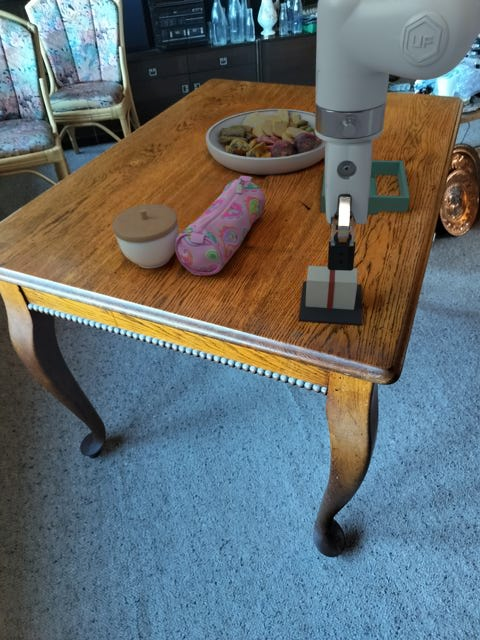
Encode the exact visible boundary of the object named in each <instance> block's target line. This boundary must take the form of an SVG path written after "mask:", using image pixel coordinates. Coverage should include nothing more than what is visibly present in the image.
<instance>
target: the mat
mask: <svg viewBox="0 0 480 640" xmlns="http://www.w3.org/2000/svg"><path fill="white" fill-rule="evenodd" d="M306 288H307V280H303V281H302V288H301V295H300V296H301V297H300V304H299V312H298V313H299V314H298V322H306V323H319V324H320V323H321V324H334V325H347V326H359V327H360V326H363V296H362V295H363V294H362V292H363V290H362V289H363V288H362V284H360V283H357V290H356V297H355V305H354V310H350V309H335V308H332V309H327V308H320V307H306Z"/></svg>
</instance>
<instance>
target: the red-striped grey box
mask: <svg viewBox="0 0 480 640" xmlns="http://www.w3.org/2000/svg"><path fill="white" fill-rule="evenodd" d="M306 281H307V288H306V307H320V308H327V309H332V308H335V309H350V310H354V305H355V297H356V290H357V284H358V268H357V267H353V270H351V271H341V270H329V269H328V266H322V265H321V266H320V265H308V267H307V276H306Z"/></svg>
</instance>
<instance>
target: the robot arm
mask: <svg viewBox="0 0 480 640" xmlns="http://www.w3.org/2000/svg"><path fill="white" fill-rule="evenodd" d="M316 9H317V10H316V45H315V46H316V47H315V48H316V51H315V52H316V53H315V54H316V55H315V56H316V57H315V102H314V103H315V108H314V109H315V111H314V114H315V134H316V136H317V137H318V138H320V139H322V140H324V141H325V157H324V167H325V203H326V213H325V218H326V219H325V221H326V222H327V224H329V228H330V231H331V232H330V240H329V241H328V248H327V249H328V250H327V267H328V269H329V270H341V271H351V270H353V268H355V267H354V266H355V256H356V255H355V254H356V242H357V241H355V231H356V225H362V226H364V225H365V224H366V223H367V222H368V214H367V213H368V200H369V189H370V178H371V167H372V160H373V149H374V148H373V145H374V140H375V139H377V138H379V137H380V136H382V134H383V132H384V126H385V125H384V124H385V117H386V107H387V97H388V88H389V81H390V80H389V79H390V75H391V76H396V77H398V78H399V77H400V78H404V79H408V80H409V79H410V80H414V81H429V80H434V79H438V78H440V77H443V76H445V75H447V74H448V73H450V72H452V71H453V70H454V69H455V68H457V67H458V66H459V64H460V63H461V62H463V61H464V59H465V58H466V56H467V55H468V53H469V52H470V50H471V48H472V47H473V45H474V43H475V42H476V40H477V38H478V37H479V35H480V0H317V7H316Z"/></svg>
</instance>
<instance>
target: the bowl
mask: <svg viewBox="0 0 480 640" xmlns="http://www.w3.org/2000/svg"><path fill="white" fill-rule="evenodd" d="M205 143H206V147H207V149H208V152H209V154H210V155H211V156H212V157H213V159H214V160H215V161H216V162H217V163H218V164H220V165H222V166H223V167H225V168H227V169H230V170H232V171H235V172H239V173H244V174H249V175H262V176H267V175H278V174H279V175H280V174H288V173H292V172H297V171H301V170H304V169H306V168H309V167H312V166H313V165H316V164H317V163H318V162H321V160H323V159H325V141H324V140H322V139H320V138H318V137H317V136H316V134H315V112H314V113H313V112H309V111H304V110H299V109H288V108H269V109H267V108H266V109H257V110H250V111H245V112H244V111H243V112H242V113H241V112H240V113H237V114H233V115H230V116H228V117H225V118H222V119H221V120H219V121H217V122H216V123H214V124H213V125H212V126H210V128H209V129H208V130H207V132H206V134H205Z"/></svg>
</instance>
